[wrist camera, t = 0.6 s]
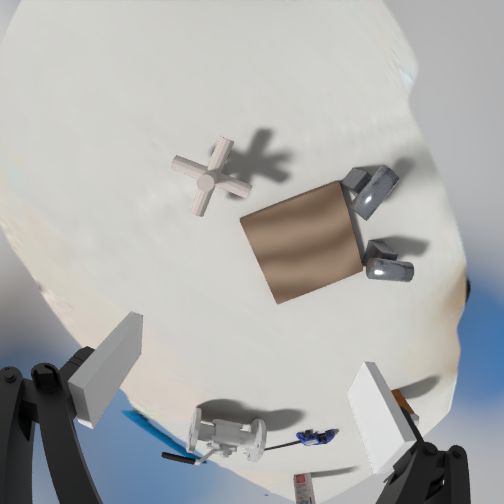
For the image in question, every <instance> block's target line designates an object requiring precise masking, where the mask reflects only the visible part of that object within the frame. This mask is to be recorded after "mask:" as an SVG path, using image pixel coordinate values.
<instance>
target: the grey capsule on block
mask: <svg viewBox="0 0 504 504" xmlns="http://www.w3.org/2000/svg"><path fill="white" fill-rule="evenodd" d="M398 182H399V178H398V176H397V175H396V174H395V173H394V172H393V171H392V170H391V169H390V168H388V167H387V166H385V165H382V166H381V167H380V168H379V169H378V171H377V172H376V173H375V174H374V176H373V177H371V176H370V175H369V174H368V173H367V172H365V171H362V170H359V169H355V168H352V170H351V171H350V172H349V173H348V174H347V176H346V177H345V178H344V179H343V180H342V182H341V184H342V185H344V186H345V187H346V188H347V189H348V190H349V191H350V192H351V193H352V194H353V195H354V196H355V197H356V198H355V199H354V200H353V201H352V202H351V204H350V205H349V206H350V207H351V208H352V209H353V210H354V211H355V212H356V213H357V214H359V215H360V216H361V217H362V218H363V219H364V220H366V221H367V220H368V219H369V218H370V216H371V215H372V214H373V213H374V211H375V210H376V209H377V208H378V207H379V205H380V204H381V203H382V202H383V201H384V199H385V198H386V197H387V196H388V194H389V193H390V192H391V191H392V189H393V188H394V187H395V186H396V184H397V183H398Z"/></svg>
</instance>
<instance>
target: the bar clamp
mask: <svg viewBox="0 0 504 504" xmlns="http://www.w3.org/2000/svg"><path fill="white" fill-rule="evenodd" d="M296 436H297V438H298V439H300V440H301V441H298V442H294V443H290V444H286V445H281V446H276V447H271V448H266V449H264V451H265V450H271V449H276V448H280V447H285V446H290V445H294V444H298V443H302V444H304V445H306V446H309V445H319V444H327V443H328V442H330V441H331V440H332V439H333V438H334V431H333V430H328V431H325V434H324V435H323V434H322V435H320V436H318V435H317V434H316V433H314V434H313V435H310V431H309V430H307V431H305V437H304V436H303V435H302V433H300V434H299V433H297V434H296ZM312 436H313V438H312ZM245 454H246V453H245Z"/></svg>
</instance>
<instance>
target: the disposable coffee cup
mask: <svg viewBox="0 0 504 504" xmlns="http://www.w3.org/2000/svg"><path fill="white" fill-rule="evenodd" d="M391 392H392V394H393V396H394V398H395V400H396V402H397V403H398V405H399V407H400V406H403V407H404V408H405V409H406V410H407V411H408V412H409V414H410V416H411V418H412V420H413V421H414V423H415V424H414V425H416V427H417V426H418V424H419V416H418V415H416V414H415V413H414V411H413V410H412V409H411V407H410V406H409V404H408V403H407V401H406V400H405V398H404V397H403V396H402V394H401V393H400V391H399V390H392V391H391Z"/></svg>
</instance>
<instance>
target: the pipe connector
mask: <svg viewBox="0 0 504 504" xmlns="http://www.w3.org/2000/svg"><path fill="white" fill-rule="evenodd" d="M233 144H234V141H231V140H229V139H226V138H224V137H221V136H220V138H219V140H218V143H217V145H216V147H215V150H214V152H213V154H212V157H211V159H210V161H209V164H208V166H207V167H206V166H204V165H201V164H198V163H196V162H193V161H191V160H188V159H185V158H183V157H180V156H177V155H176V156H175V158H174V159H173V162H172V164H171V169H173V170H175V171H178V172H181V173H183V174H186V175H189V176H191V177H194V178H196V179H198V180H197V186H198V188H199V189H198V191H197V194H196V196H195V199H194V201H193V204H192V207H191V209H190V212H191V213H192V214H194V215H196V216H201V217H202V216H203V215H204V213H205V210H206V208H207V205H208V203H209V200H210V198H211V195H212V193H213V190H214V188H215V186H217V187H219V188H222V189H224V190H226V191H229V192H231V193H234V194H236V195H239V196H241V197H243V198H246V199H247V197H248V195H249V193H250V191H251V188H252V185H250V184H248V183H246V182H243V181H241V180H238V179H236V178H234V177H231V176H229V175H226V174H224V173H222V169H223V167H224V164H225V162H226V160H227V157H228V155H229V153H230V151H231V148H232V146H233Z"/></svg>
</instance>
